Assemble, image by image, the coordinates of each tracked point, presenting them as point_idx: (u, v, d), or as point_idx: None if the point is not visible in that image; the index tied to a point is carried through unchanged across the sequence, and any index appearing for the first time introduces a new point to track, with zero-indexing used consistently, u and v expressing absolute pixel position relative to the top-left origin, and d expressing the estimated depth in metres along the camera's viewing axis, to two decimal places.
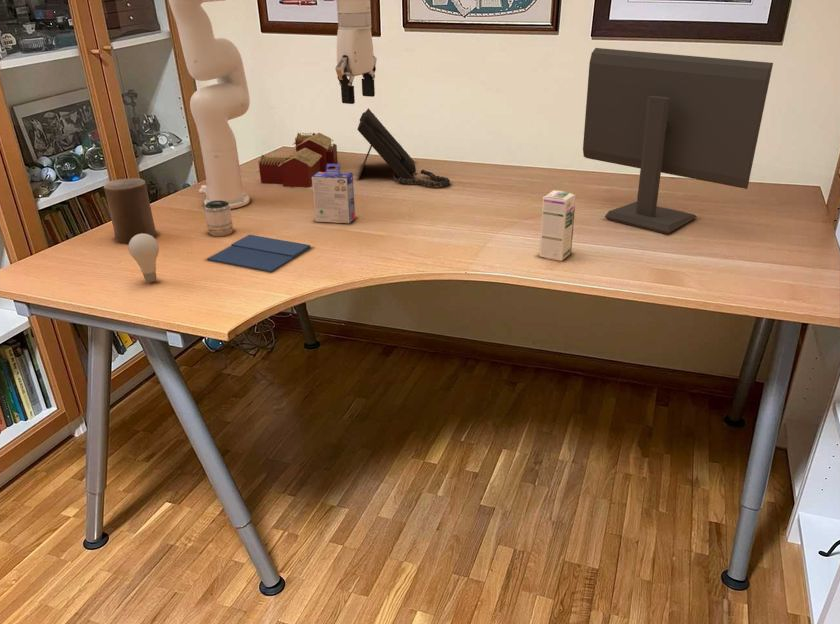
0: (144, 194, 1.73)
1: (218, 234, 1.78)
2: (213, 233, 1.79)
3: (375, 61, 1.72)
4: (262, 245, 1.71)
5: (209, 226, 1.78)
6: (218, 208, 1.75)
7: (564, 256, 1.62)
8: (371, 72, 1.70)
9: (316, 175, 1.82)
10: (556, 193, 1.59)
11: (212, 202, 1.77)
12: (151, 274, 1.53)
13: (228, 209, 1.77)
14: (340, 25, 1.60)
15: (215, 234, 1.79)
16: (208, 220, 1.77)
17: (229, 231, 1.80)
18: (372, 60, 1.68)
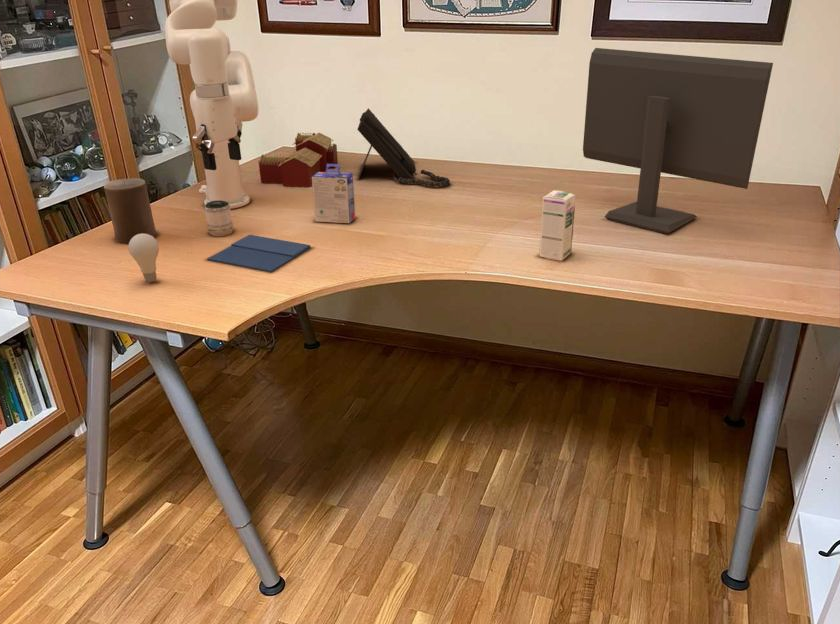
0: (144, 194, 1.73)
1: (218, 234, 1.78)
2: (213, 233, 1.79)
3: (241, 126, 1.75)
4: (262, 245, 1.71)
5: (209, 226, 1.78)
6: (218, 208, 1.75)
7: (564, 256, 1.62)
8: (235, 137, 1.73)
9: (316, 175, 1.82)
10: (556, 193, 1.59)
11: (212, 202, 1.77)
12: (151, 274, 1.53)
13: (228, 209, 1.77)
14: (197, 95, 1.63)
15: (215, 234, 1.79)
16: (208, 220, 1.77)
17: (229, 231, 1.80)
18: (235, 126, 1.71)
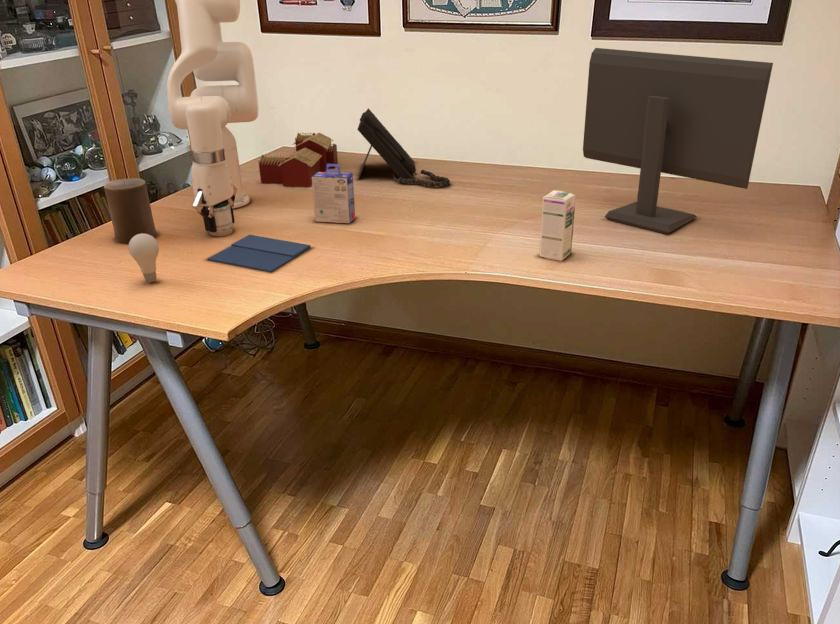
0: (144, 194, 1.73)
1: (218, 234, 1.78)
2: (213, 233, 1.79)
3: (235, 191, 1.82)
4: (262, 245, 1.71)
5: None
6: (218, 208, 1.75)
7: (564, 256, 1.62)
8: (229, 202, 1.80)
9: (316, 175, 1.82)
10: (556, 193, 1.59)
11: None
12: (151, 274, 1.53)
13: (228, 209, 1.77)
14: (194, 161, 1.70)
15: (215, 234, 1.79)
16: None
17: (229, 231, 1.80)
18: (231, 188, 1.78)
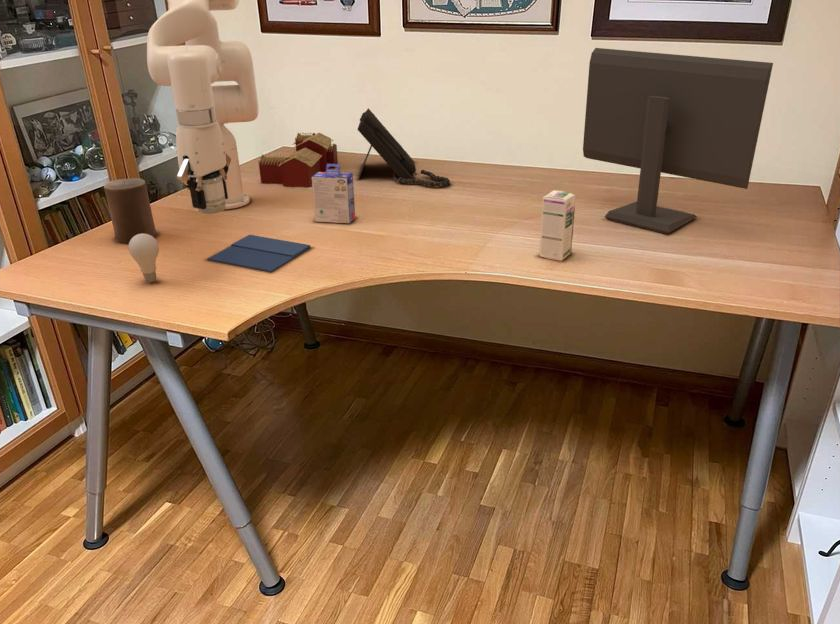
0: (144, 194, 1.73)
1: (208, 211, 1.50)
2: (202, 210, 1.50)
3: (229, 161, 1.54)
4: (262, 245, 1.71)
5: None
6: (208, 180, 1.47)
7: (564, 256, 1.62)
8: (221, 174, 1.51)
9: (316, 175, 1.82)
10: (556, 193, 1.59)
11: None
12: (151, 274, 1.53)
13: (220, 181, 1.49)
14: (179, 122, 1.42)
15: (204, 211, 1.50)
16: None
17: (221, 208, 1.51)
18: (223, 156, 1.50)
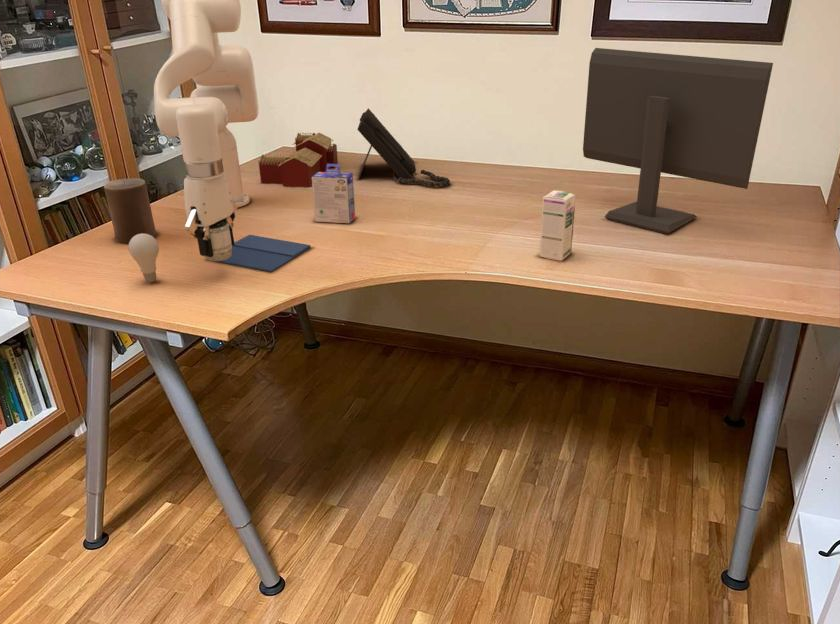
0: (144, 194, 1.73)
1: (215, 259, 1.52)
2: (209, 257, 1.52)
3: (235, 208, 1.56)
4: (262, 245, 1.71)
5: None
6: (215, 228, 1.49)
7: (564, 256, 1.62)
8: (228, 221, 1.53)
9: (316, 175, 1.82)
10: (556, 193, 1.59)
11: None
12: (151, 274, 1.53)
13: (227, 229, 1.51)
14: (187, 174, 1.44)
15: (211, 259, 1.52)
16: None
17: (228, 255, 1.53)
18: (230, 205, 1.52)
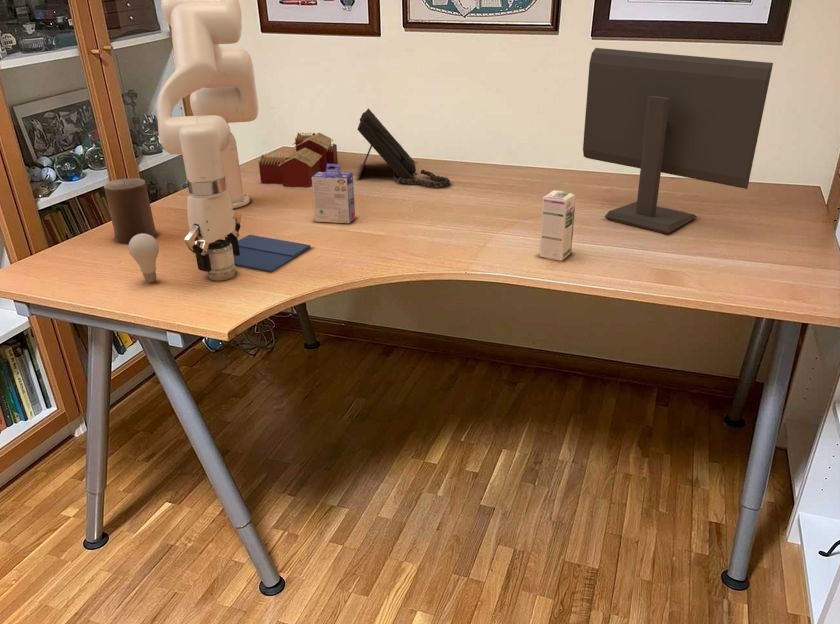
0: (144, 194, 1.73)
1: (218, 278, 1.55)
2: (212, 277, 1.55)
3: (240, 218, 1.58)
4: (262, 245, 1.71)
5: None
6: (218, 249, 1.51)
7: (564, 256, 1.62)
8: (233, 232, 1.56)
9: (316, 175, 1.82)
10: (556, 193, 1.59)
11: (212, 242, 1.53)
12: (151, 274, 1.53)
13: (230, 250, 1.53)
14: (190, 192, 1.46)
15: (215, 278, 1.55)
16: None
17: (231, 274, 1.56)
18: (232, 221, 1.54)
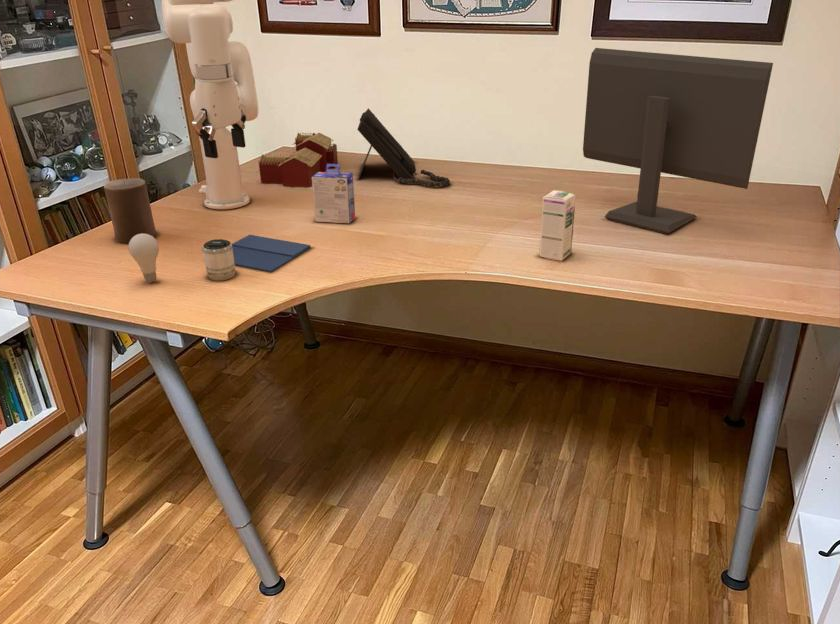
0: (144, 194, 1.73)
1: (218, 278, 1.55)
2: (212, 277, 1.55)
3: (245, 110, 1.63)
4: (262, 245, 1.71)
5: (208, 269, 1.54)
6: (218, 249, 1.51)
7: (564, 256, 1.62)
8: (239, 123, 1.61)
9: (316, 175, 1.82)
10: (556, 193, 1.59)
11: (212, 242, 1.53)
12: (151, 274, 1.53)
13: (230, 250, 1.53)
14: (198, 77, 1.51)
15: (215, 278, 1.55)
16: (207, 262, 1.53)
17: (231, 274, 1.56)
18: (238, 111, 1.59)
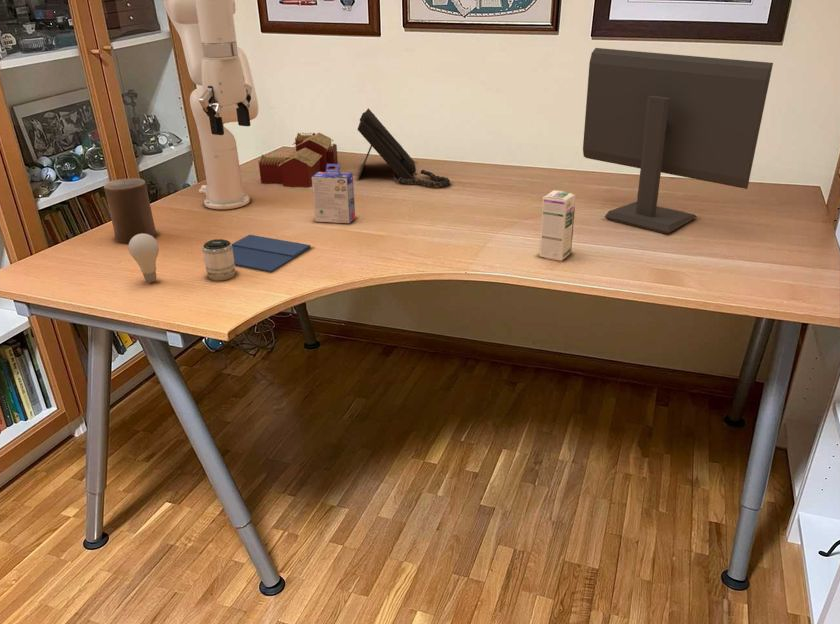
0: (144, 194, 1.73)
1: (218, 278, 1.55)
2: (212, 277, 1.55)
3: (250, 90, 1.67)
4: (262, 245, 1.71)
5: (208, 269, 1.54)
6: (218, 249, 1.51)
7: (564, 256, 1.62)
8: (244, 102, 1.65)
9: (316, 175, 1.82)
10: (556, 193, 1.59)
11: (212, 242, 1.53)
12: (151, 274, 1.53)
13: (230, 250, 1.53)
14: (204, 55, 1.55)
15: (215, 278, 1.55)
16: (207, 262, 1.53)
17: (231, 274, 1.56)
18: (244, 90, 1.63)
